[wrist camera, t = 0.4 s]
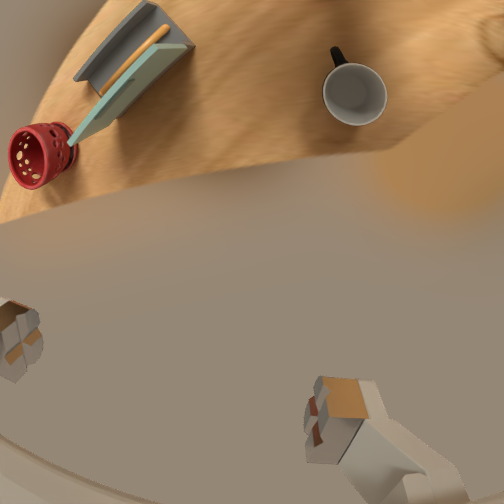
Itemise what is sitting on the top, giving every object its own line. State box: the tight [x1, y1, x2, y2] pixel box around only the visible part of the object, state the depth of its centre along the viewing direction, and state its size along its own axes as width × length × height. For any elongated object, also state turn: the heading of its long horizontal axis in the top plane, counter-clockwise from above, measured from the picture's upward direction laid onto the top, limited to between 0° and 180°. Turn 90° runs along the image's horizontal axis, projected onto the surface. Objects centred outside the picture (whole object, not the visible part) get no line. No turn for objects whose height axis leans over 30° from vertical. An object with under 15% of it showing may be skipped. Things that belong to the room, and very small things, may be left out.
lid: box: [67, 44, 188, 147], centre depth 42 cm, size 20×12×1 cm
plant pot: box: [8, 122, 77, 190], centre depth 55 cm, size 13×13×12 cm
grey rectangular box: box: [73, 0, 195, 119], centre depth 47 cm, size 20×12×5 cm, turn 127°
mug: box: [322, 46, 387, 126], centre depth 42 cm, size 12×9×10 cm
